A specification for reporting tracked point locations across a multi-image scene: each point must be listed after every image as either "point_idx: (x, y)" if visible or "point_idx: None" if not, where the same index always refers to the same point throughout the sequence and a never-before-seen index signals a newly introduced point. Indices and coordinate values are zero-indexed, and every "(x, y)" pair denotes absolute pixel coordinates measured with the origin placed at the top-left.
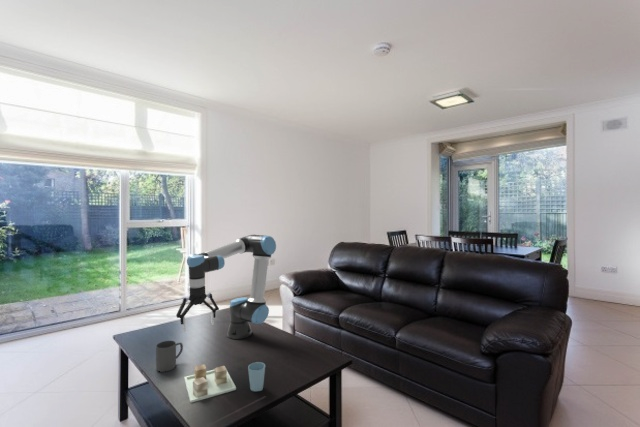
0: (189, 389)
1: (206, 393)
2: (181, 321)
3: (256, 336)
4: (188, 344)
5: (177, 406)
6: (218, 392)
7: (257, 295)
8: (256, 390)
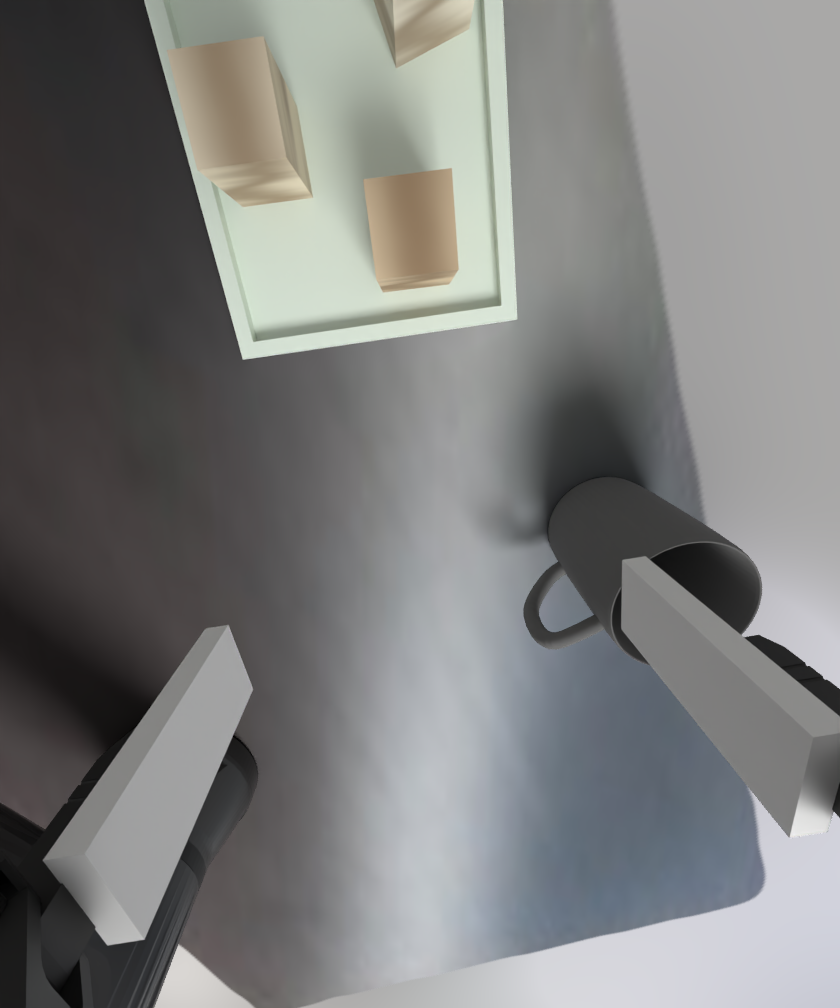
0: (493, 89)
1: None
2: (814, 681)
3: (78, 721)
4: (467, 738)
5: None
6: None
7: None
8: None
